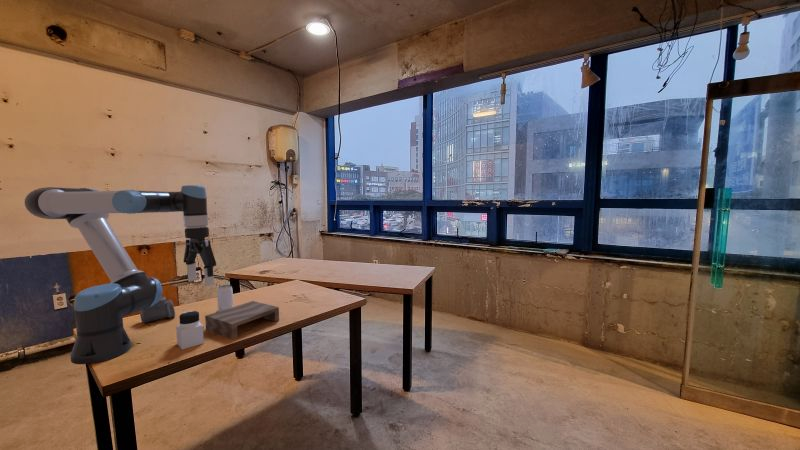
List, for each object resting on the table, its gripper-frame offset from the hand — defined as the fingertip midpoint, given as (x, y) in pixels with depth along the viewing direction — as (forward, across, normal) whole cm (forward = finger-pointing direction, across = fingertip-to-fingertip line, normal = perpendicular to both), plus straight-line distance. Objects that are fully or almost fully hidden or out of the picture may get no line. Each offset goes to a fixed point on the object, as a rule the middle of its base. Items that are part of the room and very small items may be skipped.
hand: (200, 283), depth 116 cm
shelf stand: (+23, +3, -17) cm, 28 cm away
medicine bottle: (+23, +2, +4) cm, 23 cm away
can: (+22, +27, -22) cm, 41 cm away
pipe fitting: (+22, +40, +1) cm, 46 cm away
